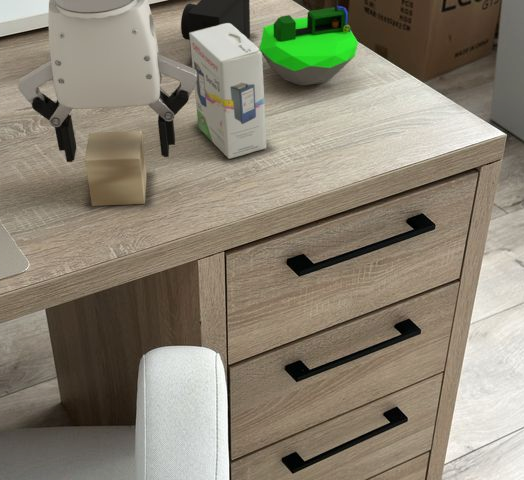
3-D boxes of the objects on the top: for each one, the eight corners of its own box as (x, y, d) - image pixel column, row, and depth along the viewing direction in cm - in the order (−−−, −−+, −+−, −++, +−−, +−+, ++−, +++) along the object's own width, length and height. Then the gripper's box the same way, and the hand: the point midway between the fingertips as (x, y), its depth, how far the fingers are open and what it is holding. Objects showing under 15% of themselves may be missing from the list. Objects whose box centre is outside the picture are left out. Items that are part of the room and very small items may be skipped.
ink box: (267, 150, 107) (266, 49, 99) (226, 161, 105) (221, 60, 97) (233, 116, 112) (230, 19, 104) (194, 127, 111) (187, 29, 103)
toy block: (91, 206, 99) (84, 160, 95) (95, 177, 103) (89, 132, 99) (144, 204, 99) (139, 158, 95) (146, 175, 103) (141, 130, 99)
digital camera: (213, 31, 130) (210, -20, 125) (250, 36, 128) (249, -15, 124) (182, 63, 123) (178, 10, 118) (221, 70, 121) (219, 16, 117)
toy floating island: (333, 51, 125) (337, -33, 117) (368, 91, 117) (375, 3, 109) (246, 66, 122) (244, -20, 115) (276, 108, 114) (276, 18, 106)
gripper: (190, -34, 89) (202, 130, 101) (4, -25, 89) (38, 138, 100) (190, -2, 84) (203, 167, 95) (-8, 8, 83) (29, 176, 95)
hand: (118, 152), depth 98 cm, fingers open, 9 cm apart
